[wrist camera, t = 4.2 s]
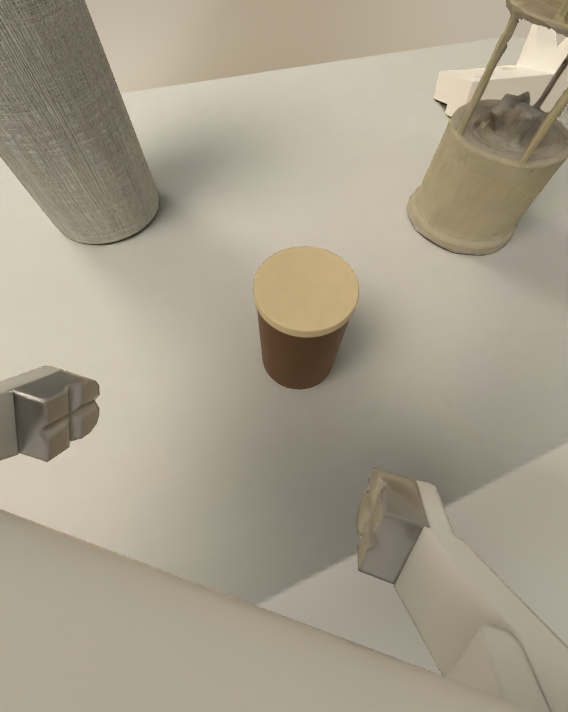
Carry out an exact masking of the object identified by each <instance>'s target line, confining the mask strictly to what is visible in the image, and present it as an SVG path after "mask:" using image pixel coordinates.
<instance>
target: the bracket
mask: <svg viewBox="0 0 568 712" xmlns="http://www.w3.org/2000/svg"><path fill="white" fill-rule="evenodd" d="M567 54H568V38H567V37H566V38H565V40H564V41H563V42H562V43H561V44H560V45H559V46H557V44H556V31H554V30H553V29H552V28H551V29H549V30H548V29H547V27H543V26H542V25H540V26H539V25H535V24H532V27H531V29H530V32H529V35H528V37H527V40H526V42H525V45H524V48H523V50H522V53H521V55H520V58H519V61H518V63H517V65H510V66H498V67H495V69H494V71H493V73H492V76H491V78H490V80H489V82H488V84H487V87H486V89H485V91H484V93H483V95H482V97H481V99H480V100H486V99H495V100H501V99H502V98H503V97H504V95H505V94H512V95H516V96H518V95H520V94H522V93H524V92H526V91H528V92H529V93H530V104H529V105H531V106H533V105H534V104H535V103H536V102H537V101H538V100H539V98H540V97H541V95H542V93H543V92H544V90H545V89H546V87H547V85H548V84H549V82H550V81H551V79H552V77H553V76H554V74H555V72H556V71H557V69H558V68H559V67H560V65H561V64H562V62H563V61H564V59H565V58H566V56H567ZM485 69H486V68H475V69H463V70H451V71H440V73H439V77H438V81H437V85H436V89H435V93H434V97H433V98H434V99H436V100H439V101H441V102H443V103H446V104H447V108H446V111H445V114H446V115H448V116H451V117H452V115H453V113H454V112H455V111H456V110H457V109H458V108H459V107H461V106H463V105H465V104H467V103H468V102H470V101H471V98H472V96H473V94H474V92H475V90H476V88H477V86H478V84H479V81H480V79H481V77H482V75H483V73H484V71H485ZM567 87H568V66H567V67H566V69H565V70H564V71H563V73H562V74H561V76H560V77H559V79H558V80H557V82H556V83H555V85H554V87H553V88H552V90H551V92H550V93H549V95H548V96H547V98H546V99H545V101H544V102H543V104H542V105H541V107H540V109H541V110H542V111H544V112H550V111H551V109H552V108H553V107H554V105H555V103H556V101H557V100H558V99H559V98H560V97H561V95H562V93H563V91H564V90H566V89H567Z"/></svg>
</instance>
